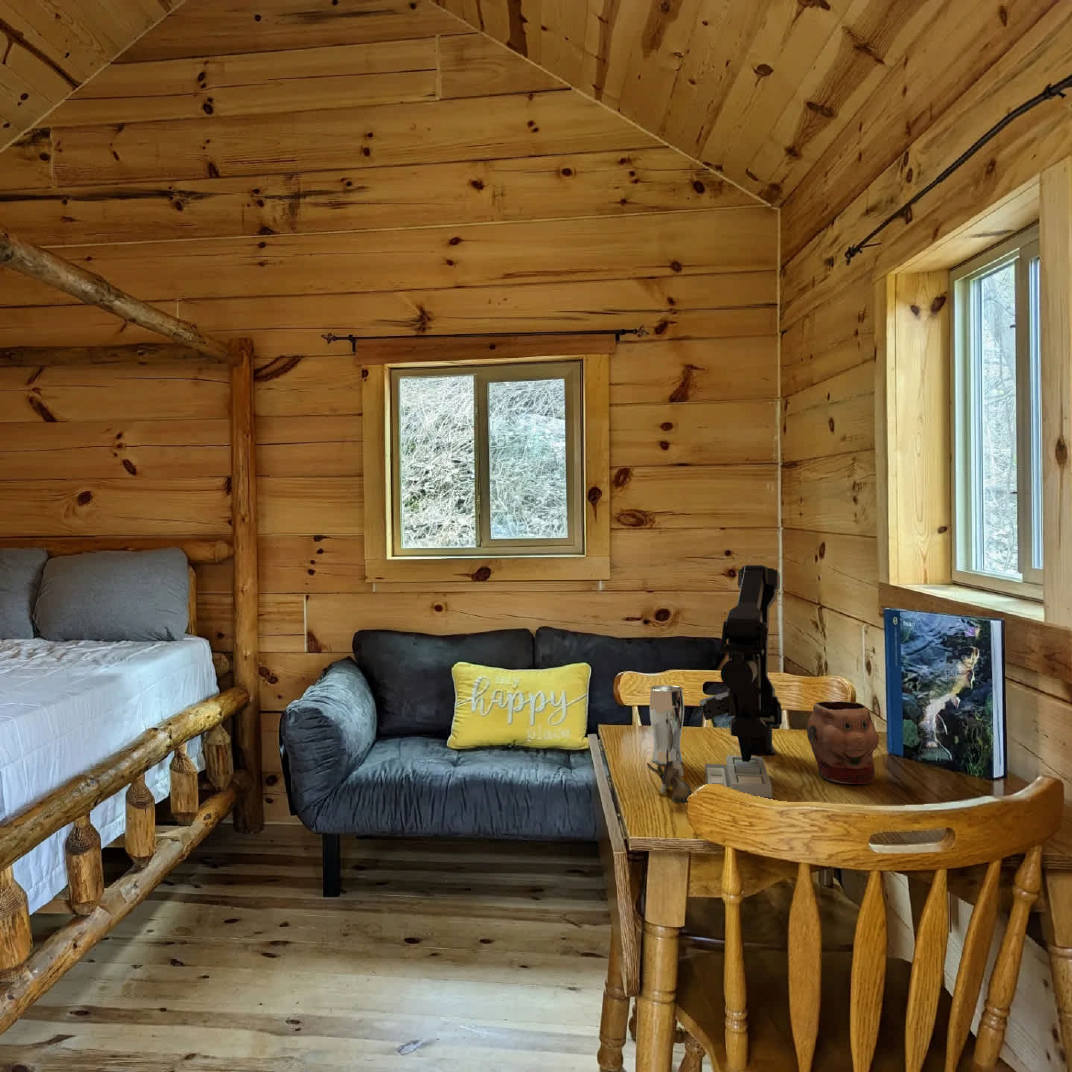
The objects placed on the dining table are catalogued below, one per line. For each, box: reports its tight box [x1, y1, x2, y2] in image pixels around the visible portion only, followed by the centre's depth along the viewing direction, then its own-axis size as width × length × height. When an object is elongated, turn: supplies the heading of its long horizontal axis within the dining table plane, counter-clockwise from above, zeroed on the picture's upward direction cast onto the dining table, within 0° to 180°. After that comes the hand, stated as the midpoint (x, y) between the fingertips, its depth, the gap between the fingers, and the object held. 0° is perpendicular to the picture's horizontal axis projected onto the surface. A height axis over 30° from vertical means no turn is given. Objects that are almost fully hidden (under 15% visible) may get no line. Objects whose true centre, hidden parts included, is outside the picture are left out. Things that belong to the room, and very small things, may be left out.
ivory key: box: [738, 776, 763, 784], centre depth 136 cm, size 4×4×2 cm
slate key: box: [736, 761, 760, 774], centre depth 142 cm, size 4×4×2 cm
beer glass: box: [649, 684, 685, 766], centre depth 158 cm, size 7×7×15 cm
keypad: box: [704, 755, 774, 800], centre depth 142 cm, size 19×11×3 cm, turn 169°
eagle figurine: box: [646, 760, 693, 805], centre depth 138 cm, size 8×7×9 cm
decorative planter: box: [806, 700, 880, 785], centre depth 148 cm, size 20×12×14 cm, turn 3°
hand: (745, 762), depth 147 cm, fingers closed, pressing on sage key
